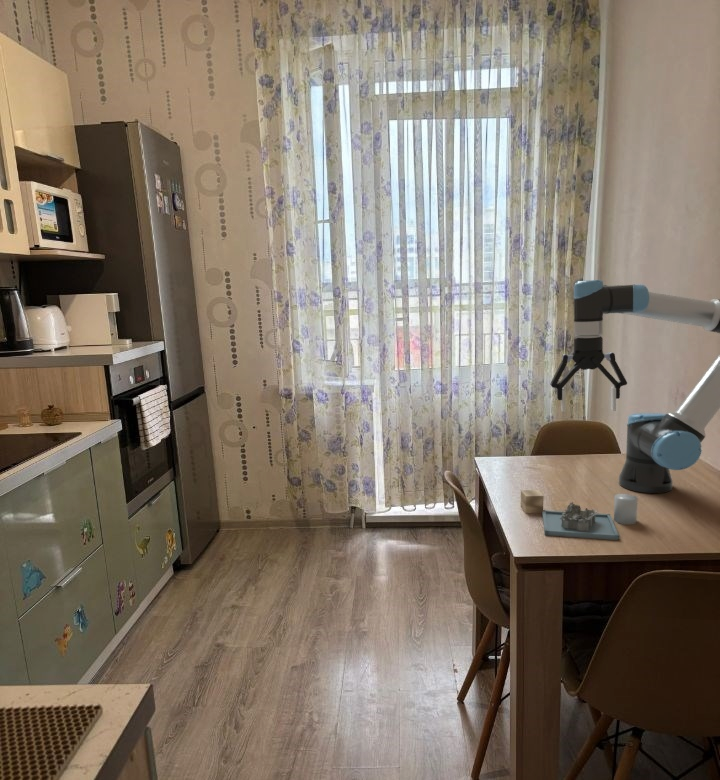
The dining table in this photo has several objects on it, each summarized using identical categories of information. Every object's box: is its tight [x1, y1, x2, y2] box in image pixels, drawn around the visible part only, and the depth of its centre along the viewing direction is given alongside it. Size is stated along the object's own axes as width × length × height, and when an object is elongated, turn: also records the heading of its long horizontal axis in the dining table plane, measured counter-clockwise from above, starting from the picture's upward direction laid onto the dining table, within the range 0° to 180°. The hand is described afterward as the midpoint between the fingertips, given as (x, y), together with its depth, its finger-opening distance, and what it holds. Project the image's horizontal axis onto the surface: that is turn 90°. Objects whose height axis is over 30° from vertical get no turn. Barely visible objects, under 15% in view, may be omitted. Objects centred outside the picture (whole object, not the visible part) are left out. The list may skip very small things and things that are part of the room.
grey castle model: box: [560, 501, 598, 531], centre depth 158 cm, size 11×8×4 cm
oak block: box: [520, 489, 545, 514], centre depth 170 cm, size 5×5×5 cm
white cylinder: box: [613, 493, 639, 526], centre depth 161 cm, size 6×6×6 cm
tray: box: [541, 509, 620, 541], centre depth 158 cm, size 18×15×1 cm
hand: (588, 410), depth 171 cm, fingers open, 13 cm apart
